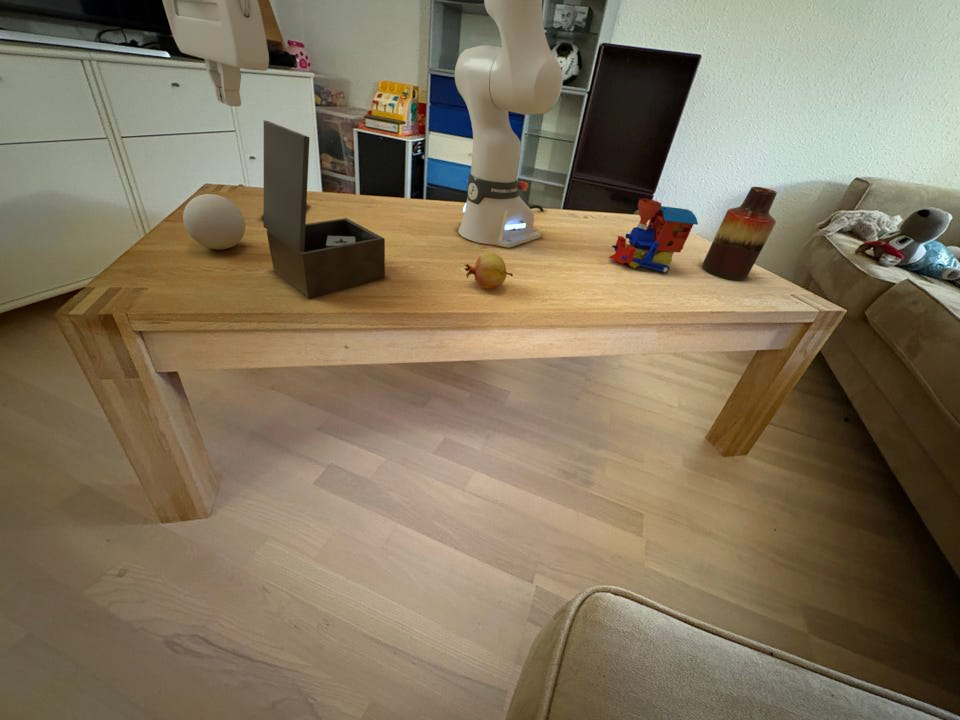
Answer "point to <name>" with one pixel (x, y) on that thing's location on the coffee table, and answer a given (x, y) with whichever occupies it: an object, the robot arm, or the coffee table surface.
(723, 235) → the vase
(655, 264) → the toy train
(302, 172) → the lid
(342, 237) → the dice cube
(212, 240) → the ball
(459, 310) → the coffee table surface
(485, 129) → the robot arm
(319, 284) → the box
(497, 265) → the fruit
